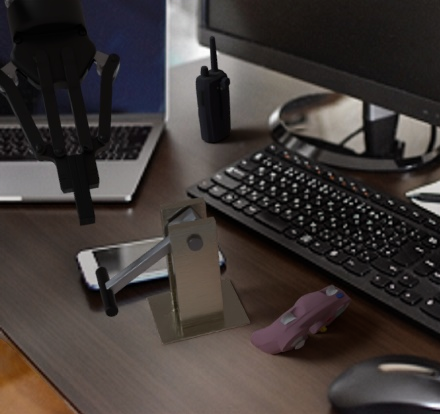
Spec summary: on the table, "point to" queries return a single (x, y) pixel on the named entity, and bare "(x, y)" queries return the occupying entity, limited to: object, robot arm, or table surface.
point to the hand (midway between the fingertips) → (87, 221)
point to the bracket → (194, 279)
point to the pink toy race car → (302, 320)
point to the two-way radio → (213, 100)
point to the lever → (135, 267)
